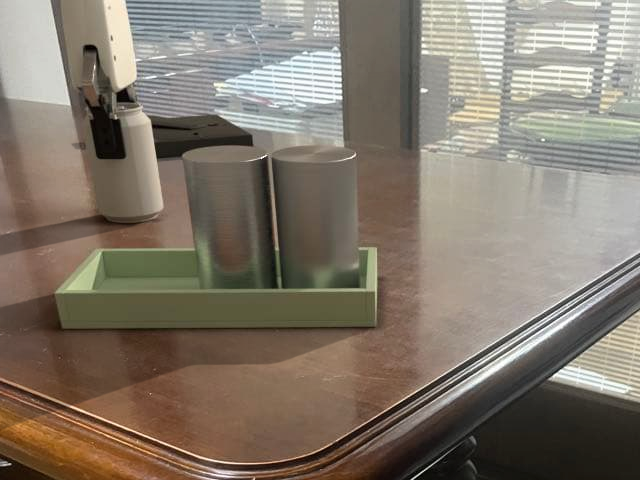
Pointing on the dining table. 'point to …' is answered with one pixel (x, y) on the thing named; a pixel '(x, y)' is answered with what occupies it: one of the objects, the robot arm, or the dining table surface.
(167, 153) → the picture frame
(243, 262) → the can
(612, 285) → the dining table surface
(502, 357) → the dining table surface
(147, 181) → the can
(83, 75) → the robot arm
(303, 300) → the tray
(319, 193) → the can
